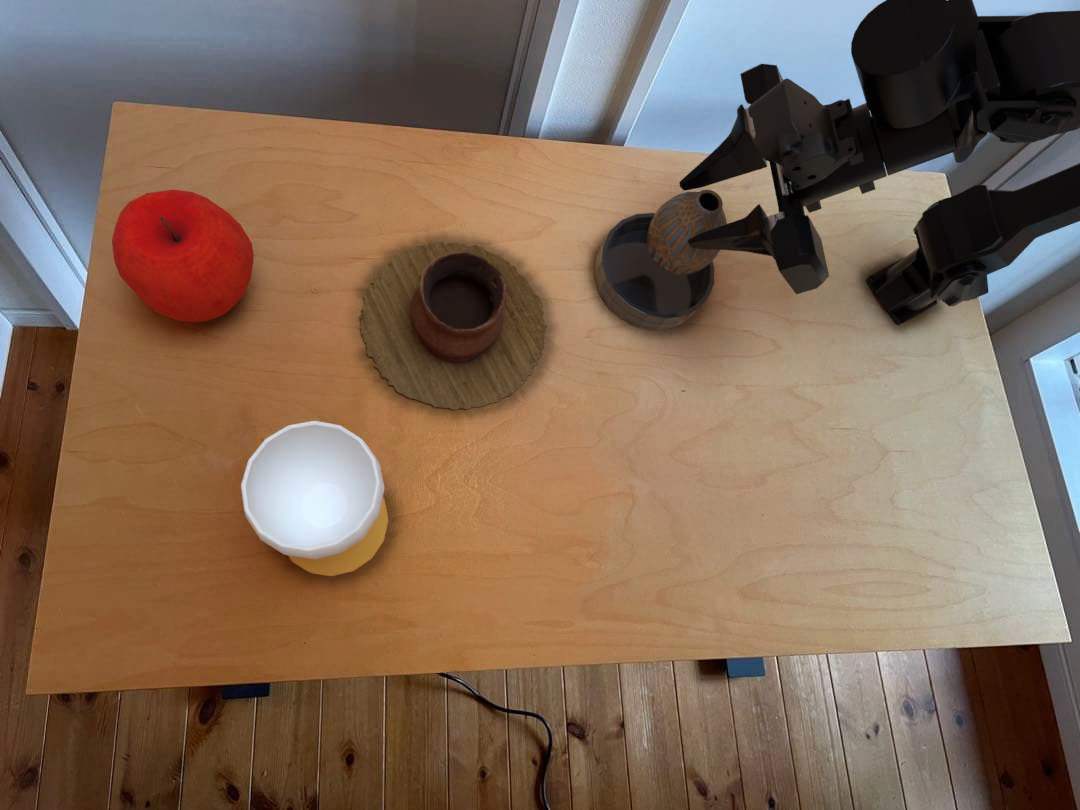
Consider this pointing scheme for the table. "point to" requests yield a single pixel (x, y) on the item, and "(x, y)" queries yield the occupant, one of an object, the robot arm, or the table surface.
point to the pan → (646, 280)
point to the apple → (182, 254)
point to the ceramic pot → (453, 325)
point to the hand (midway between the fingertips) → (685, 214)
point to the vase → (684, 231)
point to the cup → (317, 497)
